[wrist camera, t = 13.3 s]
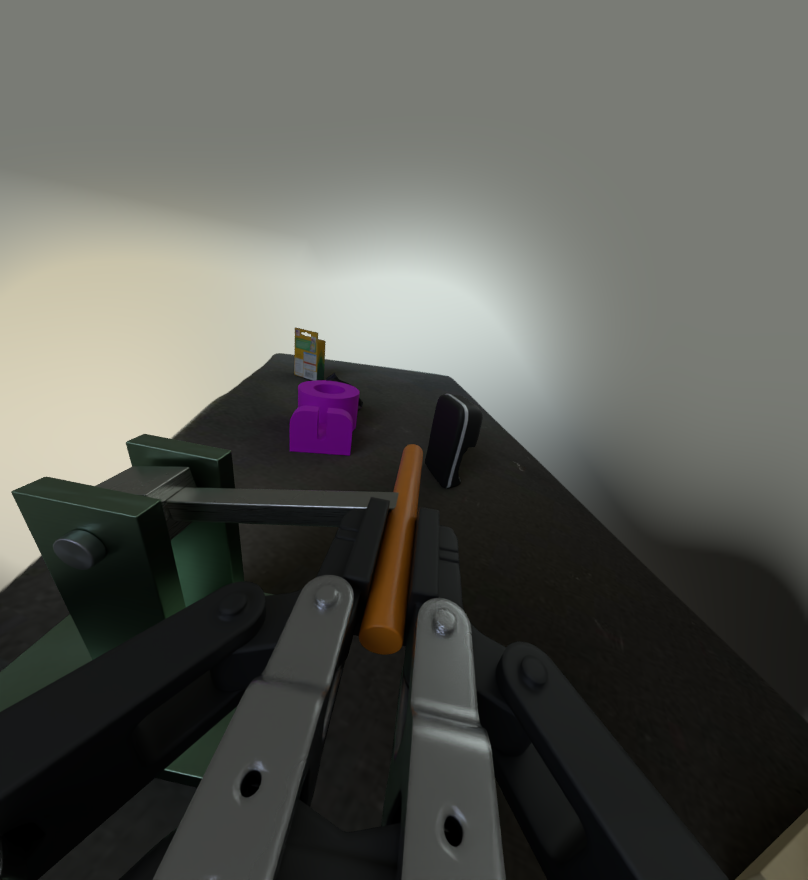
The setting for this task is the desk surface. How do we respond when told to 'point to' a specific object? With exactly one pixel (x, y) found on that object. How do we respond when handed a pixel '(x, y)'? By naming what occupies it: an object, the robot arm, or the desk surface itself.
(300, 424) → the purple bearing bracket
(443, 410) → the battery charger
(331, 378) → the gaming controller
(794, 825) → the stop housing
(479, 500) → the desk surface
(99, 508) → the switch bracket
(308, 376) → the crayon box
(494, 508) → the desk surface
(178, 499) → the lever
